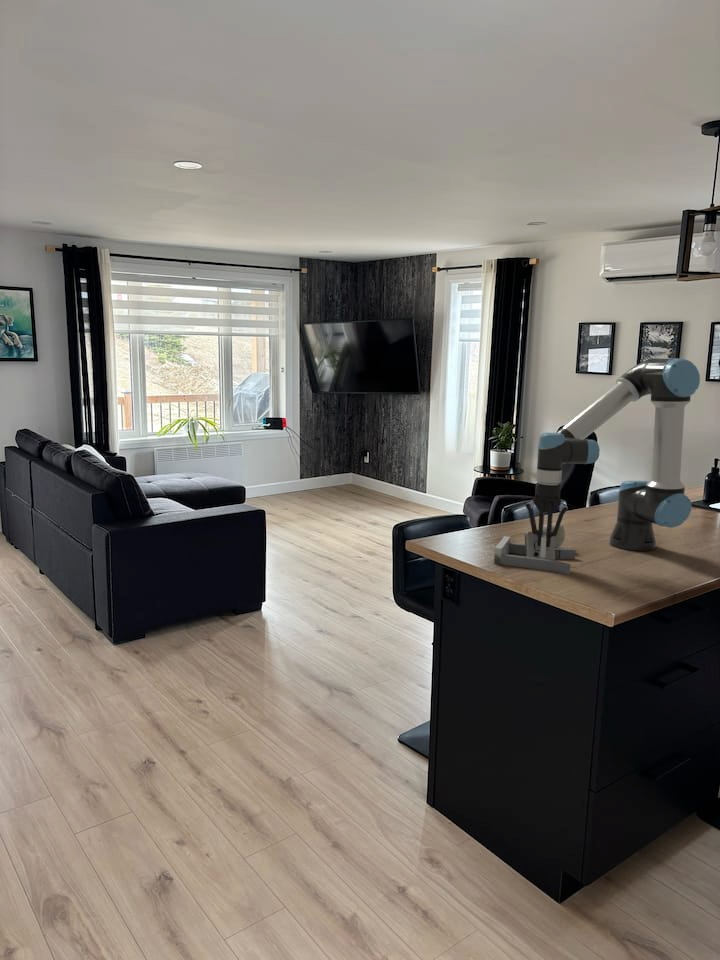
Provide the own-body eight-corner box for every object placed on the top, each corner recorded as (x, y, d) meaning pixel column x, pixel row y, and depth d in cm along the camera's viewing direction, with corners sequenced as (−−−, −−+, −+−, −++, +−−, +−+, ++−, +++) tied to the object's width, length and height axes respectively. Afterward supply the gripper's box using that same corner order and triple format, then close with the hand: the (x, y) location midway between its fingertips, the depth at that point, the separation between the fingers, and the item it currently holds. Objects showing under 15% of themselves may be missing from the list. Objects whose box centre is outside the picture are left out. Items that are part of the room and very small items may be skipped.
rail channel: (575, 557, 229) (576, 542, 228) (569, 575, 210) (570, 558, 209) (504, 549, 237) (505, 534, 237) (492, 565, 218) (493, 549, 217)
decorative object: (562, 552, 236) (565, 523, 234) (536, 549, 238) (538, 520, 237) (564, 546, 244) (567, 518, 242) (538, 543, 247) (540, 515, 245)
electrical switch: (528, 561, 223) (529, 532, 223) (521, 558, 228) (522, 530, 228) (555, 561, 225) (556, 532, 225) (548, 558, 230) (549, 529, 230)
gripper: (571, 483, 220) (565, 556, 224) (528, 479, 224) (523, 551, 228) (569, 486, 213) (563, 562, 217) (525, 482, 217) (520, 556, 221)
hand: (542, 556), depth 222 cm, fingers closed
